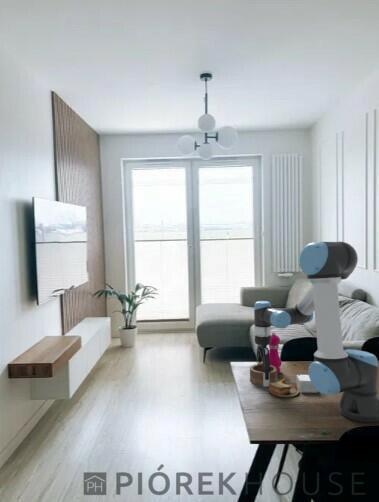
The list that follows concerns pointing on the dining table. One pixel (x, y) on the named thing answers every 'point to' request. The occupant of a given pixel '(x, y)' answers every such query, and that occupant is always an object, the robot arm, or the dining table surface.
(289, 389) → the toy sandwich meal
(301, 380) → the small box
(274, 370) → the wicker basket
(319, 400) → the dining table surface
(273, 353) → the pepper mill
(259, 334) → the robot arm
